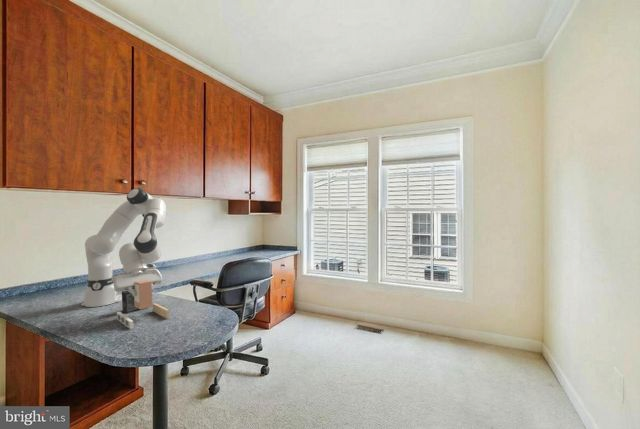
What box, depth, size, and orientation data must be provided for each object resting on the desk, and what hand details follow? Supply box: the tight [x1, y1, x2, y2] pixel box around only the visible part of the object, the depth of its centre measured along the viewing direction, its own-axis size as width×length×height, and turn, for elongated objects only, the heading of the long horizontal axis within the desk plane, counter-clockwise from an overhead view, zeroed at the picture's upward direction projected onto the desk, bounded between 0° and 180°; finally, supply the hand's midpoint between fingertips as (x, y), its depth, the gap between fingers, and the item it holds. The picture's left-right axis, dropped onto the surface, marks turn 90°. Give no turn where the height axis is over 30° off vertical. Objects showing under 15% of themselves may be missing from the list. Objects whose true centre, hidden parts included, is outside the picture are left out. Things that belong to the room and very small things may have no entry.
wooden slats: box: [116, 302, 170, 330], centre depth 138 cm, size 20×16×4 cm
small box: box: [121, 289, 147, 314], centre depth 152 cm, size 11×6×10 cm, turn 141°
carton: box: [134, 280, 153, 310], centre depth 138 cm, size 5×8×12 cm, turn 50°
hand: (143, 293), depth 138 cm, fingers closed on carton, 5 cm apart
